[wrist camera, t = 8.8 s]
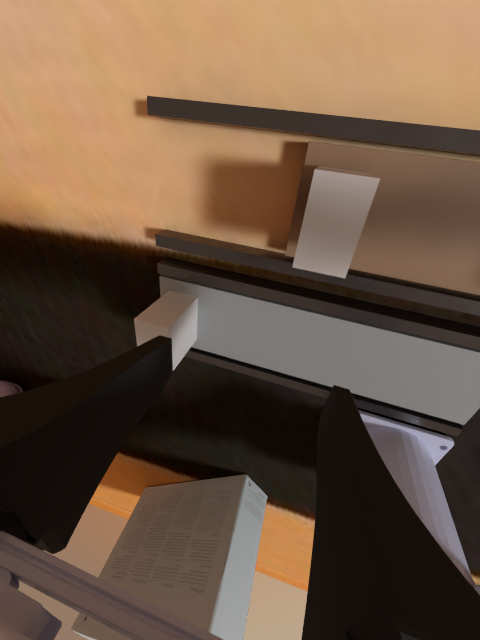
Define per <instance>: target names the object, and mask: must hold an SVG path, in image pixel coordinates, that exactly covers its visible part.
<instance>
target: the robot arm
mask: <svg viewBox="0 0 480 640" xmlns="http://www.w3.org/2000/svg"><path fill="white" fill-rule="evenodd" d="M172 372H173V361H172V338H168V337H165V336H161V335H159V336H157V337H155V338H153V339H151V340H149V341H147V342H145V343H143V344H141V345H139V346H137V347H135V348H134V349H132V350H130V351H128V352H126V353H124V354H122V355H120V356H118V357H116V358H114V359H111V360H109V361H107V362H105V363H103V364H100V365H98V366H96V367H94V368H92V369H89V370H87V371H84V372H82V373H79V374H77V375H74V376H71V377H69V378H66V379H63V380H60V381H57V382H54V383H51V384H47V385H44V386H41V387H38V388H35V389H31V390H28V391H24V392H20V393H16V394H12V395H8V396H4V397H0V640H54V638H55V637H56V635H57V633H58V631H59V630H60V628H61V626H62V624H61V623H62V622H61V621H60V620H58V619H57V618H56V617H54V616H53V615H52V614H50V613H49V612H48V611H47V610H46V609H44V608H43V606H42V605H41V604H40V603H39V602H37V601H36V600H34V599H32V598H31V597H29V596H27V595H26V594H24V593H22V592H21V591H19V590H18V588H19V581H18V580H20V581H21V582H23V583H25V584H27V585H29V586H31V587H33V588H34V589H36V590H38V591H40V592H42V593H44V594H46V595H48V596H50V597H52V598H53V599H55V600H57V601H59V602H61V603H63V604H65V605H67V606H69V607H71V608H73V609H74V610H76V611H78V612H80V613H82V614H84V615H86V616H88V617H90V618H92V619H93V620H95V621H97V622H99V623H101V624H103V625H105V626H107V627H109V628H111V629H112V630H114V631H116V632H118V633H120V634H122V635H124V636H126V637H128V638H130V639H132V640H224V639H222V638H220V637H218V636H216V635H213V634H211V633H209V632H207V631H205V630H203V629H201V628H199V627H197V626H195V625H193V624H191V623H189V622H187V621H185V620H183V619H181V618H179V617H177V616H175V615H173V614H171V613H169V612H167V611H165V610H163V609H161V608H158V607H156V606H154V605H152V604H150V603H148V602H146V601H144V600H142V599H140V598H138V597H136V596H134V595H132V594H130V593H128V592H126V591H124V590H122V589H120V588H118V587H116V586H114V585H112V584H110V583H108V582H106V581H103V580H101V579H99V578H97V577H95V576H93V575H91V574H89V573H87V572H85V571H83V570H81V569H79V568H77V567H75V566H73V565H71V564H69V563H67V562H65V561H63V560H61V559H59V558H57V557H55V556H53V555H50V554H48V553H46V552H44V551H42V550H40V549H38V548H36V547H34V546H37V547H39V548H41V549H43V550H46V551H48V552H49V553H52V554H54V553H57V552H59V551H61V550H63V549H64V548H66V546H67V544H68V542H69V539H70V538H71V536H72V534H73V532H74V530H75V528H76V526H77V524H78V522H79V520H80V518H81V516H82V514H83V513H84V511H85V509H86V507H87V505H88V503H89V501H90V500H91V498H92V496H93V494H94V492H95V491H96V489H97V487H98V485H99V483H100V482H101V480H102V478H103V476H104V475H105V473H106V471H107V470H108V468H109V466H110V464H111V463H112V461H113V459H114V458H115V456H116V455H117V453H118V451H119V450H120V448H121V446H122V445H123V443H124V442H125V440H126V438H127V437H128V436H129V434H130V433H131V431H132V430H133V429H134V427H135V426H136V425H137V423H138V422H139V421H140V419H141V418H142V417H143V415H144V414H145V413H146V411H147V410H148V409H149V408H150V406H151V405H152V404H153V402H154V401H155V400H156V398H157V397H158V396H159V394H160V393H161V391H162V390H163V388H164V387H165V385H166V383H167V381H168V380H169V378H170V376H171V374H172ZM453 446H454V442H453V439H452V438H450V437H448V436H445V435H441V434H438V433H434V432H431V431H428V430H424V429H421V428H418V427H414V426H411V425H407V424H404V423H401V422H397V421H394V420H390V419H387V418H384V417H380V416H377V415H374V414H370V413H367V412H363V411H360V410H358V408H357V406H356V404H355V401H354V399H353V396H352V394H351V392H350V390H349V389H346V388H343V387H339V386H336V385H333V387H332V390H331V392H330V394H329V397H328V399H327V401H326V404H325V406H324V408H323V411H322V413H321V415H320V418H319V426H318V434H317V502H316V518H315V529H314V540H313V549H312V559H311V569H310V577H309V586H308V594H307V603H306V610H305V618H304V626H303V633H302V640H480V585H476V584H475V582H474V581H473V579H472V577H471V574H470V571H469V568H468V565H467V562H466V559H465V556H464V553H463V550H462V547H461V544H460V541H459V538H458V535H457V532H456V529H455V526H454V523H453V520H452V516H451V513H450V510H449V507H448V504H447V501H446V498H445V495H444V492H443V489H442V486H441V483H440V480H439V477H438V474H437V471H436V468H435V465H436V464H437V463H438V462H439V461H440V459H441V458H442V457H443V456H444V455H445V454H446V453H447V452H448V451H449V450H450V449H451V448H452V447H453ZM26 542H28V543H30V544H32V545H34V546H32V545H30V544H28V543H26Z"/></svg>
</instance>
